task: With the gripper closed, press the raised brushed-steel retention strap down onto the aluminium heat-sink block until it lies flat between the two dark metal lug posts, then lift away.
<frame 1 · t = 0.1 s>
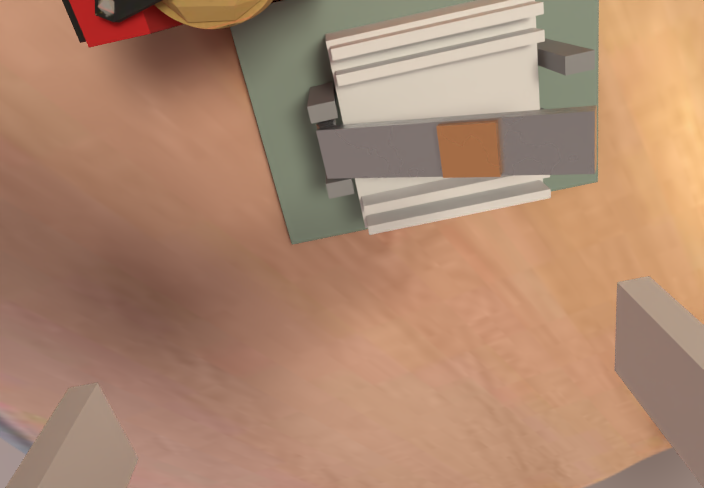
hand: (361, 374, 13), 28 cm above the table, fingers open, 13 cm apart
strap: (439, 145, 28), point 11 cm above the table, hinge at 30.0°
heatsink: (424, 101, 38), on the table
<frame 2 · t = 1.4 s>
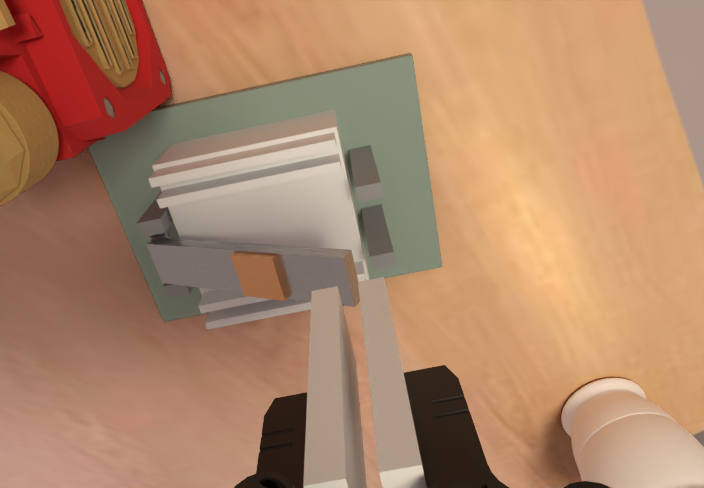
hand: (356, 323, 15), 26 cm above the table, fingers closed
jar: (600, 406, 53), on the table
strap: (243, 265, 32), point 11 cm above the table, hinge at 30.0°
heatsink: (276, 197, 42), on the table
radio: (69, 6, 35), on the table
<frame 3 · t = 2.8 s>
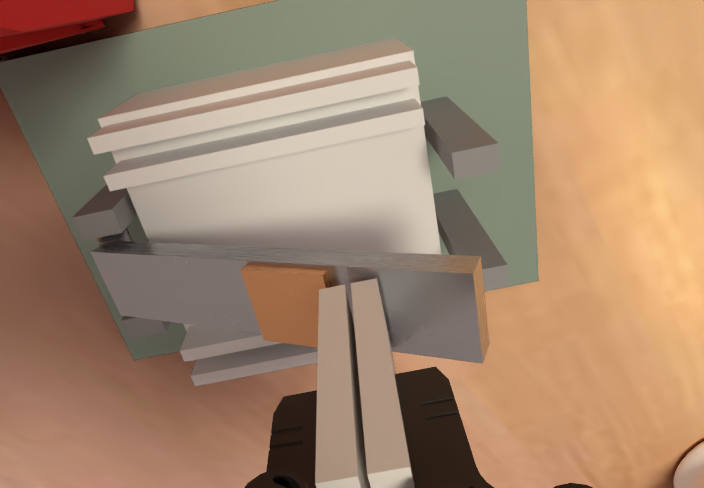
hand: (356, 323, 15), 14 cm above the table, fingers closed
strap: (260, 287, 18), point 11 cm above the table, hinge at 27.7°, touching gripper
heatsink: (298, 178, 28), on the table
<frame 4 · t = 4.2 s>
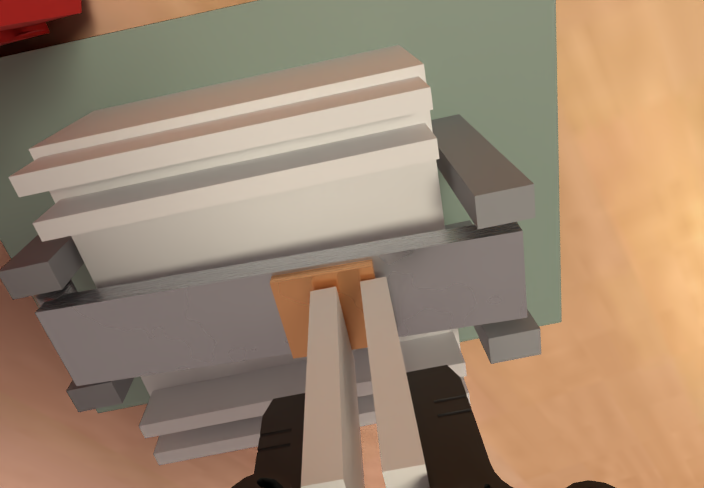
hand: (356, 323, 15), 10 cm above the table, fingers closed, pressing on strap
strap: (274, 303, 17), point 8 cm above the table, hinge at 4.1°, touching gripper
heatsink: (285, 207, 24), on the table
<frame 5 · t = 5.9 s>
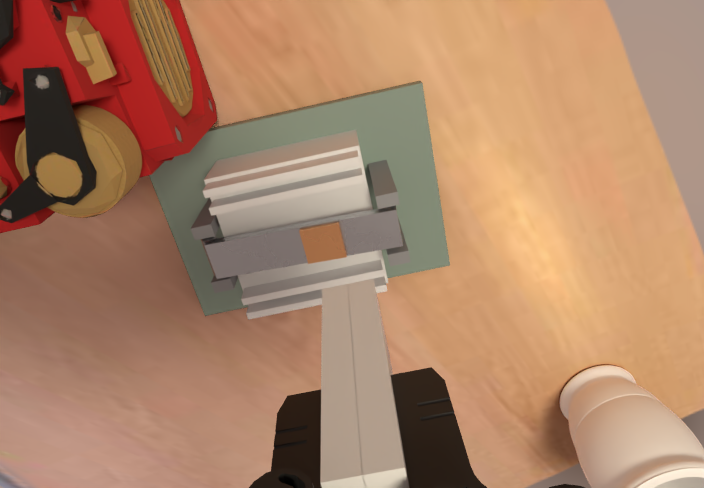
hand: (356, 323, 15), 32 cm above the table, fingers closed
jar: (595, 392, 59), on the table
strap: (300, 242, 41), point 8 cm above the table, hinge at 4.1°
heatsink: (304, 205, 48), on the table
radio: (131, 46, 42), on the table
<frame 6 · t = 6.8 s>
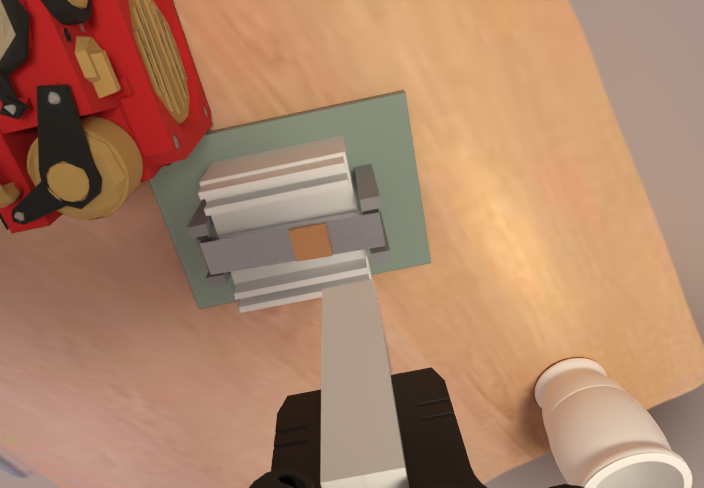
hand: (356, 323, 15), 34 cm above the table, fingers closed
jar: (568, 383, 62), on the table
strap: (289, 241, 43), point 8 cm above the table, hinge at 4.1°
heatsink: (294, 205, 51), on the table
radio: (131, 54, 44), on the table
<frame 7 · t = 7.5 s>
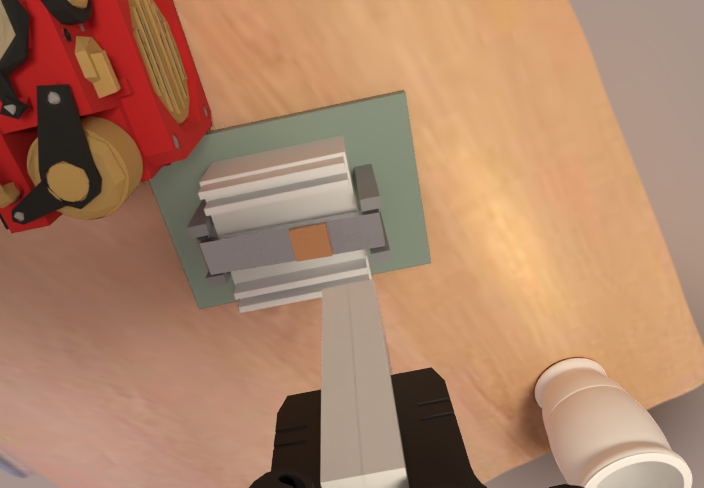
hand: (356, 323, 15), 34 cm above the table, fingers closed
jar: (568, 383, 62), on the table
strap: (289, 241, 43), point 8 cm above the table, hinge at 4.1°
heatsink: (294, 205, 51), on the table
radio: (131, 54, 44), on the table
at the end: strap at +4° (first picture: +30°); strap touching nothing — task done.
